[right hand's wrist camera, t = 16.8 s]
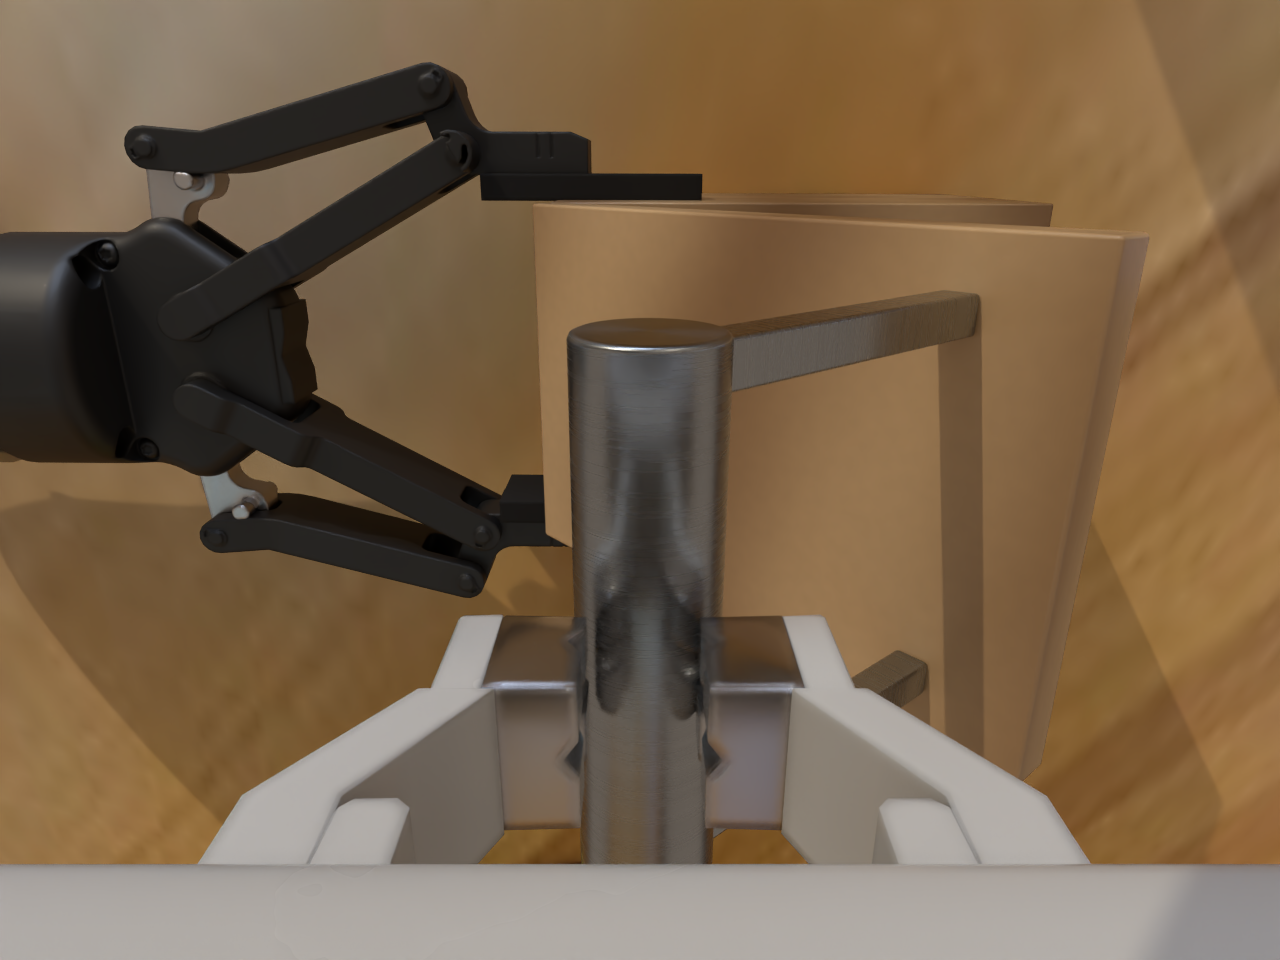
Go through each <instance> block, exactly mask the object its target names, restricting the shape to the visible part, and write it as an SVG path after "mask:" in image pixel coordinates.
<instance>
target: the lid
mask: <svg viewBox="0 0 1280 960" xmlns="http://www.w3.org/2000/svg"><path fill="white" fill-rule="evenodd" d="M533 225H534V250H535V275H536V300H537V325H538V350H539V375H540V400H541V425H542V450H543V475H544V500H545V525H546V534H547V535H548V536H550V537H552V538H554V539H556V540H558V541H560V542H561V543H563V544H565V545H567V546H569V547H571V548H572V553H573V589H574V617H586V620H587V635H588V657H587V667H586V679H587V680H588V681H589V735H588V752H587V760H586V761H585V762H584V784H585V786H584V796H583V807H582V817H581V827H580V838H581V864H712V855H713V838H715V837H716V836H718V835H719V834H721V833H722V832H723V831H725V830H726V829H721V828H705V819H704V810H703V801H702V792H701V762H700V761H699V760H698V751H697V738H696V684H697V682H698V681H699V679H700V675H699V666H698V656H697V643H698V619H699V618H700V617H740V616H797V615H822V616H824V617H825V618H826V620H827V623H828V625H829V627H830V630H831V632H832V634H833V637H834V639H835V641H836V644H837V646H838V648H839V651H840V653H841V655H842V658H843V660H844V662H845V665H846V667H847V669H848V672H849V674H850V676H851V679H852V681H853V683H854V686H855V688H868V689H870V690H871V691H873V692H875V693H876V694H878V695H880V696H881V697H883V698H885V699H886V700H888V701H890V702H891V703H893V704H895V705H896V706H898V707H900V708H901V709H903V710H905V711H906V712H908V713H910V714H911V715H913V716H915V717H916V718H918V719H920V720H921V721H923V722H924V723H926V724H928V725H929V726H931V727H933V728H934V729H936V730H938V731H939V732H941V733H943V734H944V735H946V736H948V737H949V738H951V739H953V740H954V741H956V742H958V743H959V744H961V745H963V746H964V747H966V748H968V749H969V750H971V751H973V752H974V753H976V754H978V755H979V756H981V757H983V758H984V759H986V760H988V761H989V762H991V763H993V764H994V765H996V766H998V767H999V768H1001V769H1003V770H1004V771H1006V772H1008V773H1009V774H1011V775H1013V776H1014V777H1016V778H1018V779H1019V780H1021V781H1023V780H1024V779H1025V778H1026V777H1027V776H1028V775H1030V774H1031V773H1032V772H1033V771H1034V770H1035V769H1036V768H1037V767H1038V766H1039V765H1040V764H1041V761H1042V756H1043V751H1044V746H1045V741H1046V737H1047V732H1048V727H1049V722H1050V717H1051V712H1052V707H1053V703H1054V698H1055V693H1056V688H1057V683H1058V678H1059V673H1060V669H1061V664H1062V659H1063V654H1064V649H1065V644H1066V640H1067V635H1068V630H1069V625H1070V620H1071V615H1072V610H1073V606H1074V601H1075V596H1076V591H1077V586H1078V581H1079V576H1080V572H1081V567H1082V562H1083V557H1084V552H1085V547H1086V542H1087V538H1088V533H1089V528H1090V523H1091V518H1092V513H1093V509H1094V504H1095V499H1096V494H1097V489H1098V484H1099V479H1100V475H1101V470H1102V465H1103V460H1104V455H1105V450H1106V445H1107V441H1108V436H1109V431H1110V426H1111V421H1112V416H1113V412H1114V407H1115V402H1116V397H1117V392H1118V387H1119V382H1120V378H1121V373H1122V368H1123V363H1124V358H1125V353H1126V348H1127V344H1128V339H1129V334H1130V329H1131V324H1132V319H1133V315H1134V310H1135V305H1136V300H1137V295H1138V290H1139V285H1140V281H1141V276H1142V271H1143V266H1144V261H1145V256H1146V251H1147V247H1148V242H1149V234H1148V233H1146V232H1140V231H1120V230H1100V229H1080V228H1060V227H1040V226H1020V225H1000V224H980V223H960V222H940V221H920V220H900V219H880V218H860V217H840V216H820V215H800V214H780V213H760V212H740V211H720V210H700V209H680V208H660V207H640V206H620V205H600V204H580V203H536V204H534V205H533Z"/></svg>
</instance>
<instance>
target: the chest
mask: <svg viewBox="0 0 1280 960" xmlns="http://www.w3.org/2000/svg"><path fill="white" fill-rule="evenodd" d="M551 203H580V204H600V205H620V206H640V207H660V208H680V209H700V210H720V211H740V212H760V213H780V214H800V215H820V216H840V217H860V218H880V219H900V220H920V221H940V222H960V223H980V224H1000V225H1020V226H1040V227H1050V221H1051V215H1052V209H1053V204H1049V203H1038V202H1026V201H1014V200H1002V199H990V198H978V197H967V196H955V195H943V194H702V200H557V201H554V202H551Z"/></svg>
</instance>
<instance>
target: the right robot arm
mask: <svg viewBox="0 0 1280 960" xmlns="http://www.w3.org/2000/svg"><path fill="white" fill-rule="evenodd" d="M697 656H698V666H699V675H700V679H699V681H698V682H697V684H696V738H697V751H698V760H699V761H700V762H701V792H702V801H703V810H704V819H705V828H721V829H757V830H782V833H781V834H782V835H783V836H784V837H785V838H786V839H787V840H788V841H789V842H790V844H791V845H792V846H793V847H794V848H795V849H796V850H797V851H798V852H799V853H800V855H801V856H802V857H803V858H804V859H805V860H806V861H807V862H808V863H809V864H478V863H479V862H480V861H481V860H482V858H483V857H484V856H485V855H486V854H487V853H488V852H489V851H490V850H491V848H492V847H493V846H494V845H495V844H496V843H497V842H498V841H499V840H500V838H501V837H502V836H503V835H504V830H527V829H563V828H580V827H581V817H582V807H583V796H584V786H585V784H584V762H585V761H586V760H587V752H588V735H589V681H588V680H587V679H586V667H587V657H588V635H587V620H586V617H556V616H505V617H504V616H503V615H468V616H462V617H461V618H460V619H459V620H458V622H457V625H456V627H455V630H454V632H453V635H452V637H451V640H450V642H449V644H448V647H447V649H446V652H445V654H444V657H443V659H442V662H441V664H440V666H439V669H438V671H437V674H436V676H435V679H434V681H433V683H432V686H431V688H418V689H417V690H415V691H413V692H412V693H410V694H408V695H407V696H405V697H403V698H402V699H400V700H398V701H397V702H395V703H393V704H392V705H390V706H388V707H387V708H385V709H383V710H382V711H380V712H378V713H377V714H375V715H374V716H372V717H370V718H369V719H367V720H365V721H364V722H362V723H360V724H359V725H357V726H355V727H354V728H352V729H350V730H349V731H347V732H345V733H344V734H342V735H340V736H339V737H337V738H335V739H334V740H332V741H330V742H329V743H327V744H326V745H324V746H322V747H321V748H319V749H317V750H316V751H314V752H312V753H311V754H309V755H307V756H306V757H304V758H302V759H301V760H299V761H297V762H296V763H294V764H292V765H291V766H289V767H287V768H286V769H284V770H283V771H281V772H279V773H278V774H276V775H274V776H273V777H271V778H269V779H268V780H266V781H264V782H263V783H261V784H259V785H258V786H256V787H254V788H253V789H251V790H249V791H248V792H246V793H244V794H243V795H242V796H241V797H240V799H239V801H238V802H237V804H236V805H235V807H234V808H233V810H232V811H231V813H230V814H229V816H228V818H227V819H226V821H225V822H224V824H223V825H222V827H221V828H220V830H219V832H218V833H217V835H216V836H215V838H214V839H213V841H212V842H211V844H210V845H209V847H208V849H207V850H206V852H205V853H204V855H203V856H202V858H201V859H200V861H199V863H198V864H0V960H1280V864H1091V863H1090V862H1089V860H1088V859H1087V857H1086V856H1085V854H1084V852H1083V851H1082V849H1081V848H1080V846H1079V845H1078V843H1077V842H1076V840H1075V839H1074V837H1073V836H1072V834H1071V832H1070V831H1069V829H1068V828H1067V826H1066V825H1065V823H1064V822H1063V820H1062V819H1061V817H1060V816H1059V814H1058V813H1057V811H1056V809H1055V808H1054V806H1053V805H1052V803H1051V802H1050V800H1049V799H1048V797H1047V796H1046V795H1044V794H1042V793H1041V792H1039V791H1038V790H1036V789H1034V788H1033V787H1031V786H1029V785H1028V784H1026V783H1024V782H1023V781H1021V780H1019V779H1018V778H1016V777H1014V776H1013V775H1011V774H1009V773H1008V772H1006V771H1004V770H1003V769H1001V768H999V767H998V766H996V765H994V764H993V763H991V762H989V761H988V760H986V759H984V758H983V757H981V756H979V755H978V754H976V753H974V752H973V751H971V750H969V749H968V748H966V747H964V746H963V745H961V744H959V743H958V742H956V741H954V740H953V739H951V738H949V737H948V736H946V735H944V734H943V733H941V732H939V731H938V730H936V729H934V728H933V727H931V726H929V725H928V724H926V723H924V722H923V721H921V720H920V719H918V718H916V717H915V716H913V715H911V714H910V713H908V712H906V711H905V710H903V709H901V708H900V707H898V706H896V705H895V704H893V703H891V702H890V701H888V700H886V699H885V698H883V697H881V696H880V695H878V694H876V693H875V692H873V691H871V690H870V689H868V688H855V686H854V683H853V681H852V679H851V676H850V674H849V672H848V669H847V667H846V665H845V662H844V660H843V658H842V655H841V653H840V651H839V648H838V646H837V644H836V641H835V639H834V637H833V634H832V632H831V630H830V627H829V625H828V623H827V620H826V618H825V617H824V616H822V615H797V616H740V617H700V618H699V619H698V643H697Z"/></svg>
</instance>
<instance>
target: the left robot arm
mask: <svg viewBox="0 0 1280 960" xmlns="http://www.w3.org/2000/svg"><path fill="white" fill-rule="evenodd" d="M424 122H426V123H427V125H428V128H429V130H430V133H431V135H432V137H433V140H434V141H433V142H431V143H429V144H428V145H426V146H425V147H423V148H421V149H420V150H418V151H417V152H415V153H413V154H412V155H410V156H409V157H407V158H405V159H404V160H402V161H400V162H399V163H397V164H396V165H394V166H392V167H391V168H389V169H388V170H386V171H384V172H383V173H381V174H380V175H378V176H376V177H375V178H373V179H372V180H370V181H368V182H367V183H365V184H363V185H362V186H360V187H359V188H357V189H355V190H354V191H352V192H351V193H349V194H347V195H346V196H344V197H343V198H341V199H339V200H338V201H336V202H335V203H333V204H331V205H330V206H328V207H326V208H325V209H323V210H322V211H320V212H318V213H317V214H315V215H314V216H312V217H310V218H309V219H307V220H306V221H304V222H302V223H301V224H299V225H298V226H296V227H294V228H293V229H291V230H289V231H288V232H286V233H285V234H283V235H281V236H280V237H278V238H276V239H274V240H272V241H270V242H268V243H265V244H263V245H261V246H259V247H257V248H256V249H254V250H252V251H251V252H249V253H247V252H246V251H244V250H243V249H241V248H240V247H239V246H237V245H236V244H234V243H233V242H231V241H230V240H228V239H227V238H225V237H224V236H222V235H221V234H219V233H218V232H216V231H215V230H213V229H212V228H210V227H209V226H208V225H206V224H205V223H203V222H201V221H199V220H198V212H199V210H200V207H201V206H202V205H203V203H205V202H207V201H208V200H213V199H218V198H220V197H222V196H223V195H224V194H225V193H226V192H227V189H228V186H229V181H230V179H229V176H228V173H250V172H257V171H261V170H266V169H270V168H273V167H276V166H280V165H283V164H287V163H290V162H293V161H297V160H300V159H303V158H307V157H310V156H313V155H317V154H320V153H323V152H327V151H330V150H333V149H337V148H340V147H343V146H347V145H350V144H353V143H357V142H360V141H364V140H367V139H370V138H374V137H377V136H380V135H384V134H387V133H390V132H394V131H397V130H400V129H404V128H407V127H410V126H414V125H417V124H420V123H424ZM124 146H125V150H126V153H127V155H128V157H129V158H130V159H131V161H132V162H133V163H135V164H136V165H137V166H139V167H141V168H144V169H146V170H147V179H148V188H149V197H150V207H151V216H152V219H150V220H147V221H145V222H144V223H142V224H141V225H139V226H138V227H136V228H135V229H133V230H131V231H128V232H8V233H3V234H0V462H16V461H19V460H22V459H23V460H26V461H31V462H58V463H143V462H164V463H168V464H172V465H175V466H177V467H180V468H182V469H184V470H186V471H188V472H190V473H192V474H195V475H199V476H200V477H201V481H202V484H203V488H204V491H205V495H206V499H207V502H208V506H209V509H210V513H211V517H212V519H211V520H209V521H208V522H207V523H206V524H205V525H203V526H202V528H201V530H200V539H201V541H202V543H203V545H204V546H206V547H207V548H208V549H209V550H211V551H213V552H218V553H228V552H242V551H256V550H272V551H277V552H281V553H285V554H289V555H293V556H297V557H301V558H305V559H309V560H313V561H317V562H321V563H325V564H330V565H334V566H338V567H342V568H346V569H350V570H354V571H358V572H362V573H366V574H370V575H374V576H378V577H383V578H387V579H391V580H395V581H399V582H403V583H407V584H411V585H415V586H419V587H423V588H427V589H432V590H436V591H440V592H444V593H448V594H452V595H456V596H460V597H465V598H471V597H475V596H477V595H478V594H480V593H481V592H482V589H483V587H484V585H485V583H486V580H487V578H488V575H489V573H490V570H491V568H492V565H493V563H494V560H495V558H496V554H497V553H498V552H499V551H500V550H502V549H503V548H506V547H510V546H565V547H569V546H567V545H565V544H563V543H561V542H560V541H558V540H556V539H554V538H552V537H550V536H548V535H547V534H546V525H545V500H544V475H512V476H511V478H510V480H509V482H508V484H507V487H506V489H505V490H504V492H503V494H502V496H501V495H499V494H497V493H495V492H493V491H491V490H489V489H487V488H485V487H483V486H481V485H479V484H478V483H476V482H474V481H472V480H470V479H468V478H466V477H464V476H462V475H460V474H458V473H456V472H454V471H452V470H450V469H448V468H446V467H444V466H442V465H440V464H438V463H436V462H434V461H432V460H430V459H428V458H426V457H424V456H422V455H420V454H418V453H416V452H414V451H412V450H410V449H408V448H406V447H404V446H402V445H400V444H399V443H397V442H395V441H393V440H391V439H389V438H387V437H385V436H383V435H381V434H379V433H377V432H375V431H373V430H371V429H369V428H367V427H365V426H363V425H361V424H359V423H357V422H355V421H353V420H351V419H349V418H348V417H347V416H346V415H345V413H344V411H343V410H342V409H341V408H339V407H337V406H336V405H334V404H332V403H330V402H328V401H326V400H324V399H322V398H320V397H318V396H316V395H314V394H312V392H314V391H315V390H317V389H318V388H317V381H316V373H315V367H314V365H313V362H312V360H311V357H310V355H309V352H308V350H307V347H306V338H307V330H308V323H309V321H308V314H307V306H306V299H299V298H298V295H297V293H296V292H295V290H294V288H296V287H297V286H299V285H301V284H302V283H304V282H306V281H307V280H309V279H311V278H312V277H314V276H315V275H317V274H319V273H320V272H322V271H323V270H325V269H326V268H327V267H328V266H329V265H331V264H333V263H334V262H336V261H337V260H339V259H341V258H342V257H344V256H346V255H347V254H349V253H351V252H352V251H354V250H356V249H357V248H359V247H361V246H362V245H364V244H366V243H367V242H369V241H370V240H372V239H374V238H375V237H377V236H379V235H380V234H382V233H384V232H385V231H387V230H389V229H390V228H392V227H394V226H395V225H397V224H399V223H400V222H402V221H403V220H405V219H407V218H408V217H410V216H412V215H413V214H415V213H417V212H418V211H420V210H422V209H423V208H425V207H427V206H428V205H430V204H432V203H433V202H435V201H436V200H438V199H440V198H441V197H443V196H445V195H446V194H448V193H450V192H451V191H453V190H455V189H456V188H458V187H460V186H461V185H463V184H465V183H466V182H468V181H469V180H471V179H473V178H474V177H476V176H478V175H480V182H481V199H482V200H488V201H557V200H702V174H591V141H590V140H588V139H586V138H584V137H582V136H579V135H577V134H575V133H572V132H491V131H488V130H487V129H485V128H484V127H483V126H482V125H481V124H480V123H479V122H478V120H477V118H476V116H475V114H474V112H473V109H472V107H471V104H470V101H469V99H468V94H467V87H466V85H465V83H464V81H463V80H462V79H461V78H460V77H459V76H458V75H457V74H455V73H453V72H451V71H449V70H447V69H445V68H443V67H441V66H439V65H436V64H434V63H431V62H428V63H420V64H417V65H414V66H411V67H407V68H404V69H401V70H397V71H394V72H391V73H388V74H384V75H381V76H378V77H375V78H371V79H368V80H365V81H362V82H358V83H355V84H352V85H348V86H345V87H342V88H339V89H335V90H332V91H329V92H326V93H322V94H319V95H316V96H313V97H309V98H306V99H303V100H299V101H296V102H293V103H290V104H286V105H283V106H280V107H277V108H273V109H270V110H267V111H264V112H260V113H257V114H254V115H250V116H247V117H244V118H241V119H237V120H234V121H231V122H228V123H224V124H221V125H218V126H215V127H211V128H208V129H205V130H201V131H198V130H188V129H177V128H166V127H155V126H144V125H142V126H134V127H133V128H132V129H130V130H129V131H128V132H127V134H126V136H125V142H124ZM256 450H258V451H260V452H262V453H264V454H266V455H268V456H270V457H272V458H274V459H276V460H278V461H280V462H282V463H284V464H287V465H289V466H292V467H306V468H310V469H313V470H315V471H317V472H319V473H321V474H323V475H325V476H327V477H329V478H331V479H333V480H335V481H337V482H339V483H341V484H343V485H345V486H347V487H349V488H351V489H353V490H355V491H357V492H359V493H361V494H363V495H365V496H368V497H370V498H372V499H374V500H376V501H378V502H380V503H382V504H384V505H386V506H388V507H390V508H392V509H394V510H396V511H398V512H400V513H402V514H404V515H406V516H408V517H410V518H412V519H414V520H416V521H418V522H420V523H417V522H413V521H409V520H405V519H401V518H397V517H393V516H389V515H385V514H381V513H377V512H373V511H369V510H365V509H361V508H357V507H353V506H349V505H345V504H341V503H337V502H333V501H329V500H325V499H321V498H317V497H313V496H308V495H303V494H294V493H277V491H278V488H277V486H276V485H275V484H274V483H273V482H270V481H268V482H265V481H261V480H255V479H252V478H250V477H249V476H247V475H246V474H245V473H244V472H243V470H242V469H241V466H240V464H239V463H240V462H241V461H243V460H244V459H245V458H247V457H248V456H249V455H250V454H252V453H253V452H254V451H256ZM421 523H422V524H421Z"/></svg>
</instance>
